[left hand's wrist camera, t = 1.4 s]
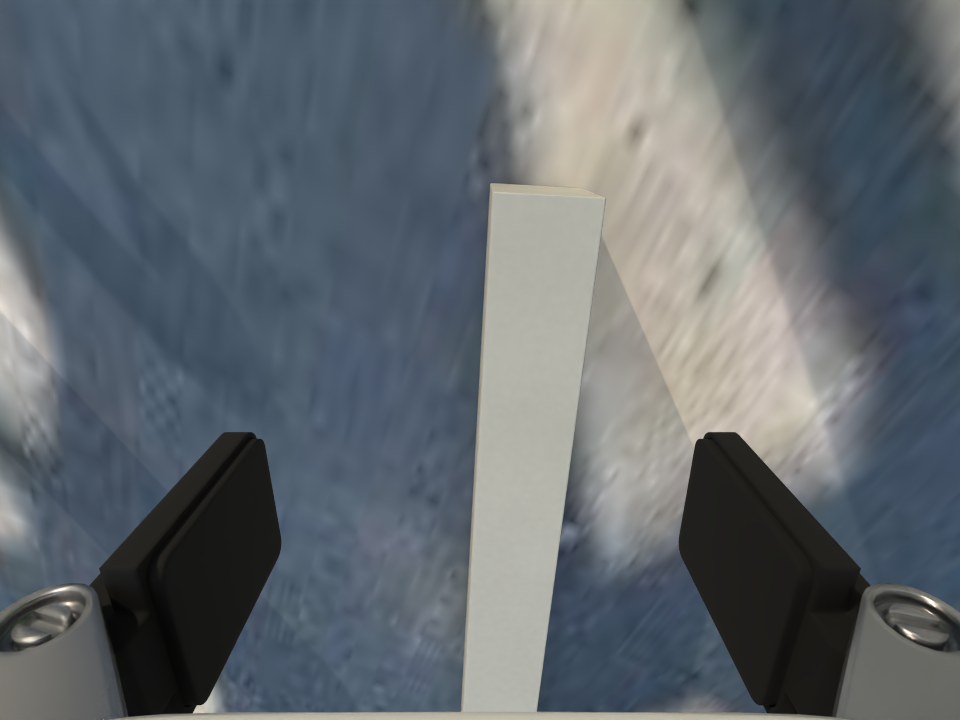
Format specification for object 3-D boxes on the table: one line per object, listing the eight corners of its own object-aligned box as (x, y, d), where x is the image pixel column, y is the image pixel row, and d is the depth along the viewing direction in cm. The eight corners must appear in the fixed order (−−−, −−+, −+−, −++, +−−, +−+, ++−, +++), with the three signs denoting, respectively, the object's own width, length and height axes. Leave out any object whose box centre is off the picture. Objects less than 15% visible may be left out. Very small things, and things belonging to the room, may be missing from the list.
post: (490, 183, 31) (492, 191, 25) (581, 187, 31) (606, 197, 25) (451, 875, 58) (448, 962, 52) (500, 877, 58) (502, 963, 52)
